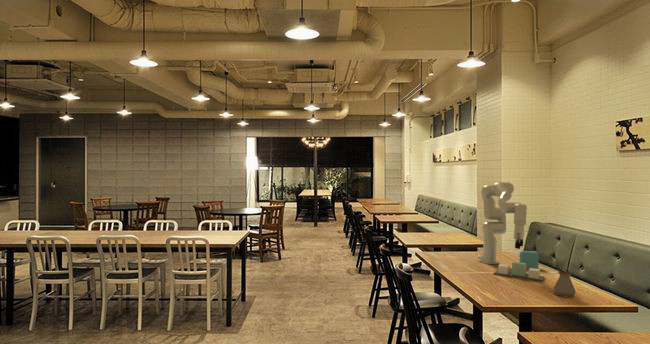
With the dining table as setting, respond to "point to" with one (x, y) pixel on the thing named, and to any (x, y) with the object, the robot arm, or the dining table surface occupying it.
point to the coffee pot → (564, 284)
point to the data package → (529, 259)
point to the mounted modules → (531, 272)
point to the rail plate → (519, 276)
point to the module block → (518, 268)
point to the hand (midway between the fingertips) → (519, 247)
